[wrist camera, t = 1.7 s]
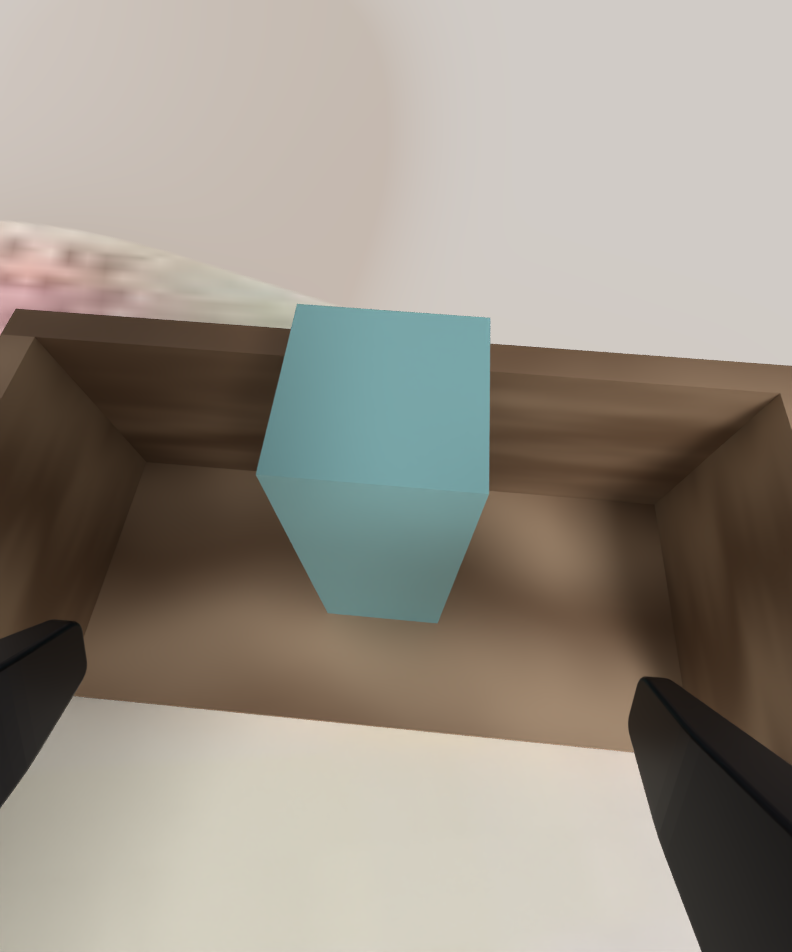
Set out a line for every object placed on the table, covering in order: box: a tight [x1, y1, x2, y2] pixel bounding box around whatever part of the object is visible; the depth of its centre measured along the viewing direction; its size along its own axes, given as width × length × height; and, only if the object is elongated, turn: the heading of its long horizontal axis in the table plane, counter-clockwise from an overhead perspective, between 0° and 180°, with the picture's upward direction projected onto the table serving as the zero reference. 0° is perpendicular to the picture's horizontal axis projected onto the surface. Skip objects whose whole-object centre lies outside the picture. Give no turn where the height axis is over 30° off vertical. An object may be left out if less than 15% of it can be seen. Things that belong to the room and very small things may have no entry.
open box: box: [0, 309, 792, 765], centre depth 16 cm, size 10×23×9 cm, turn 85°
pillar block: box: [256, 304, 490, 623], centre depth 14 cm, size 4×4×11 cm
